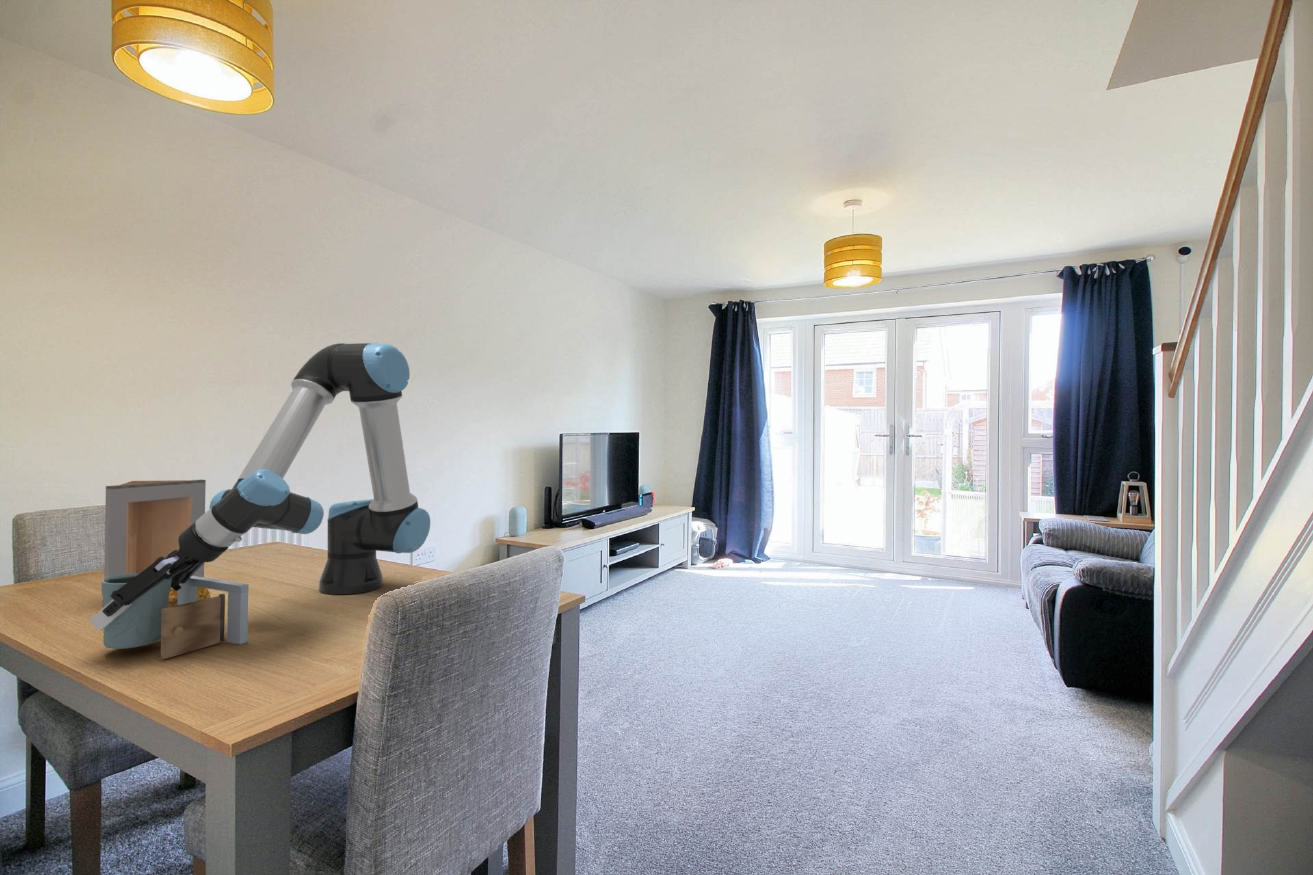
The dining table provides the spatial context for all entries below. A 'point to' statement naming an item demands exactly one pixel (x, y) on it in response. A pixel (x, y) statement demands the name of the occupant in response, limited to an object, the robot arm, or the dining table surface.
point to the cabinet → (148, 522)
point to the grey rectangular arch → (236, 603)
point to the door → (192, 626)
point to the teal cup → (135, 614)
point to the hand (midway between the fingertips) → (118, 616)
